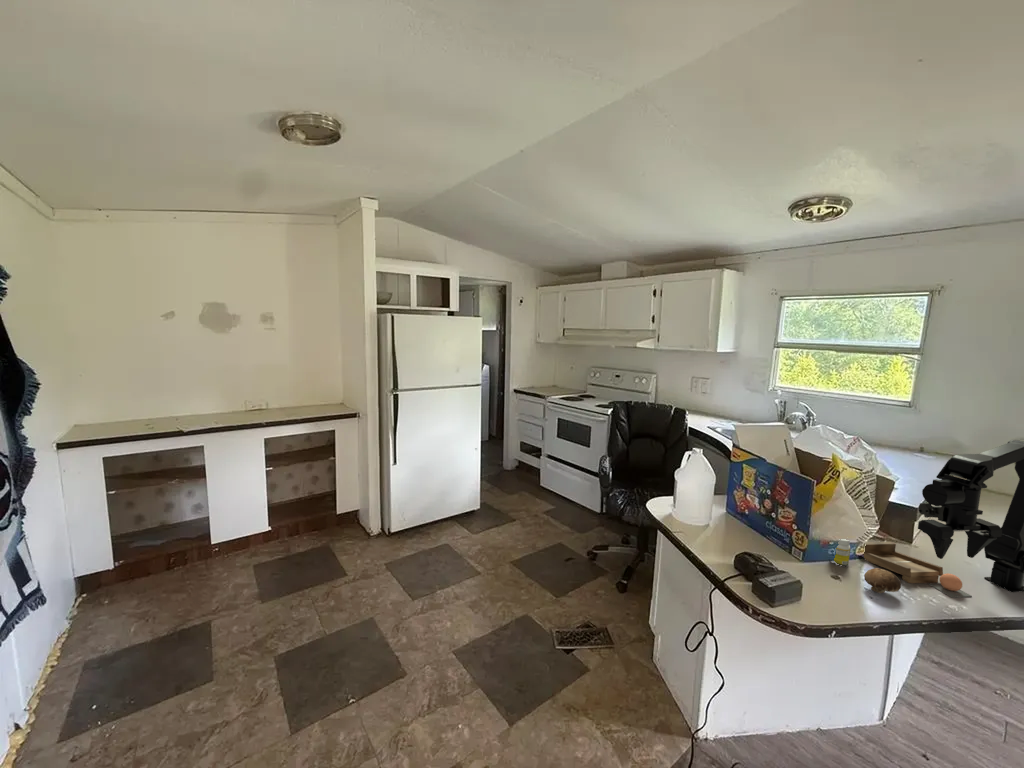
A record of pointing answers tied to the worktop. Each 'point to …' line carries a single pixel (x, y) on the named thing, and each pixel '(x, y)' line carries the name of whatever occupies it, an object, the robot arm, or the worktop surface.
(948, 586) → the ball
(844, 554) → the supplement bottle
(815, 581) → the worktop surface
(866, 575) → the mushroom
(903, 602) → the worktop surface
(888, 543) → the tray
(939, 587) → the coaster
